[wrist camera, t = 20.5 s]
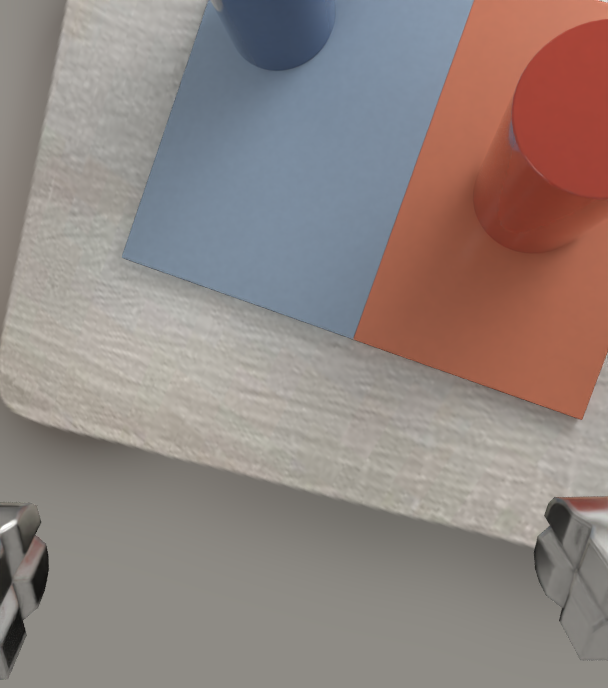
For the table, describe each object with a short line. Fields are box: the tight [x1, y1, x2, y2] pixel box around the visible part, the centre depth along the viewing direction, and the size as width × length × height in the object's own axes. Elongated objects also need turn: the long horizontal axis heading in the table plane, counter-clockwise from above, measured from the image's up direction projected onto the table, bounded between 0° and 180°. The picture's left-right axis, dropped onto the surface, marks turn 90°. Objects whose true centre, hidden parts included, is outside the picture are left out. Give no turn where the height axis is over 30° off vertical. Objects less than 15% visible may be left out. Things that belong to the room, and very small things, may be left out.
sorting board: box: [122, 0, 608, 420], centre depth 30 cm, size 26×20×1 cm
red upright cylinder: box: [473, 19, 608, 254], centre depth 23 cm, size 6×6×10 cm
